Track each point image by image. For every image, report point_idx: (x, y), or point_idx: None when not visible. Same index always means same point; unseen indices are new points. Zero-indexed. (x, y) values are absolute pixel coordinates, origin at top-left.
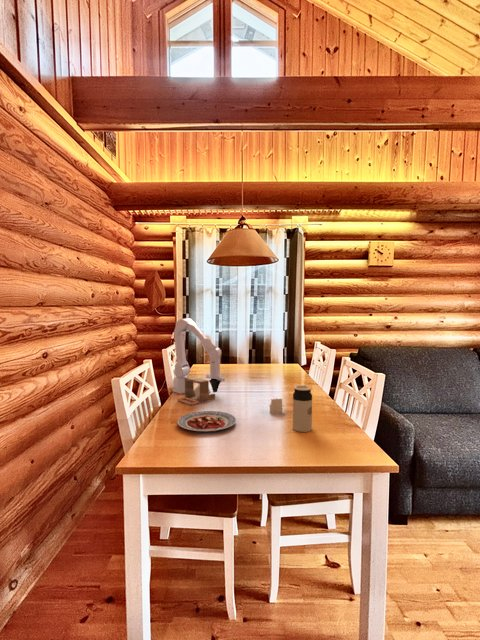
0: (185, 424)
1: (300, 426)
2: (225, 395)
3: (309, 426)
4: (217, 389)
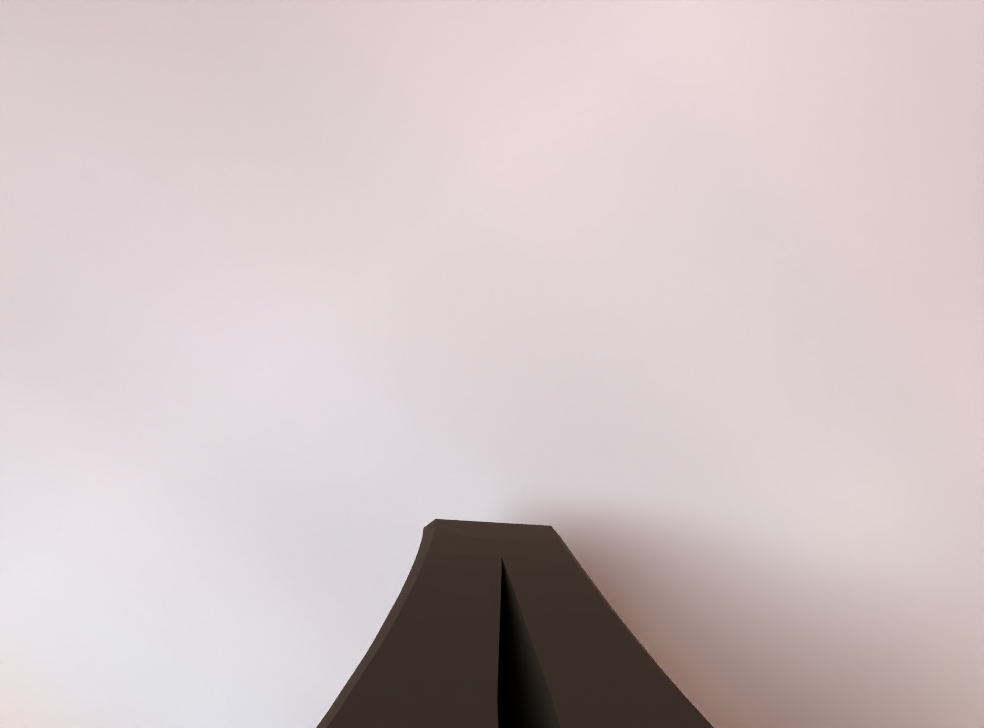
0: None
1: None
2: (959, 302)
3: None
4: (597, 607)
